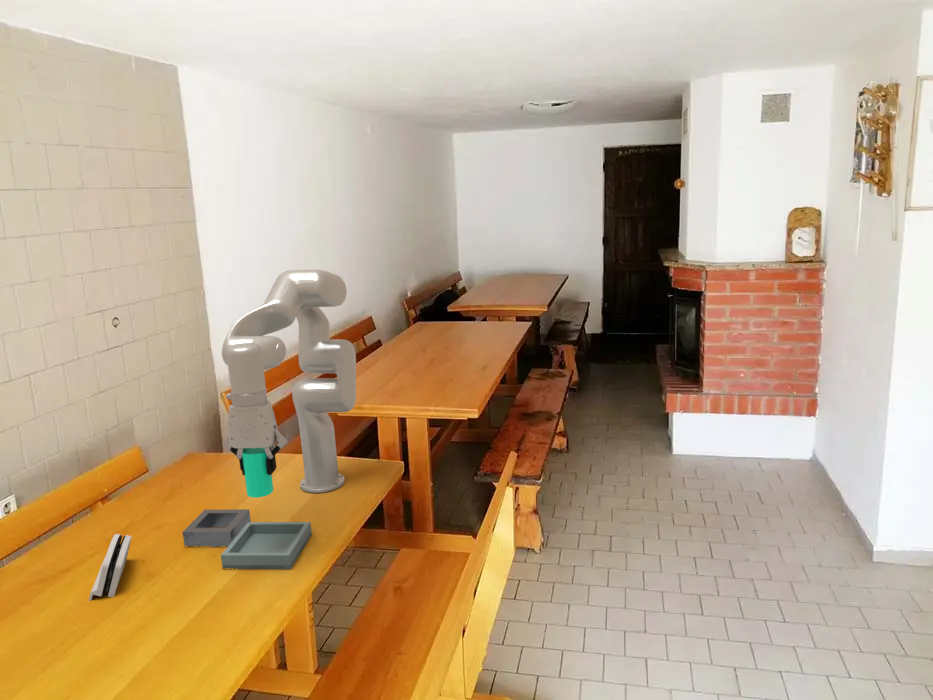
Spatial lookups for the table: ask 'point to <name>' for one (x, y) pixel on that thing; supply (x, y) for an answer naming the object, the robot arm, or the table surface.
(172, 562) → the table surface
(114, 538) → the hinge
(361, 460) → the table surface
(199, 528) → the holder
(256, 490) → the candle
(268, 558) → the tray
